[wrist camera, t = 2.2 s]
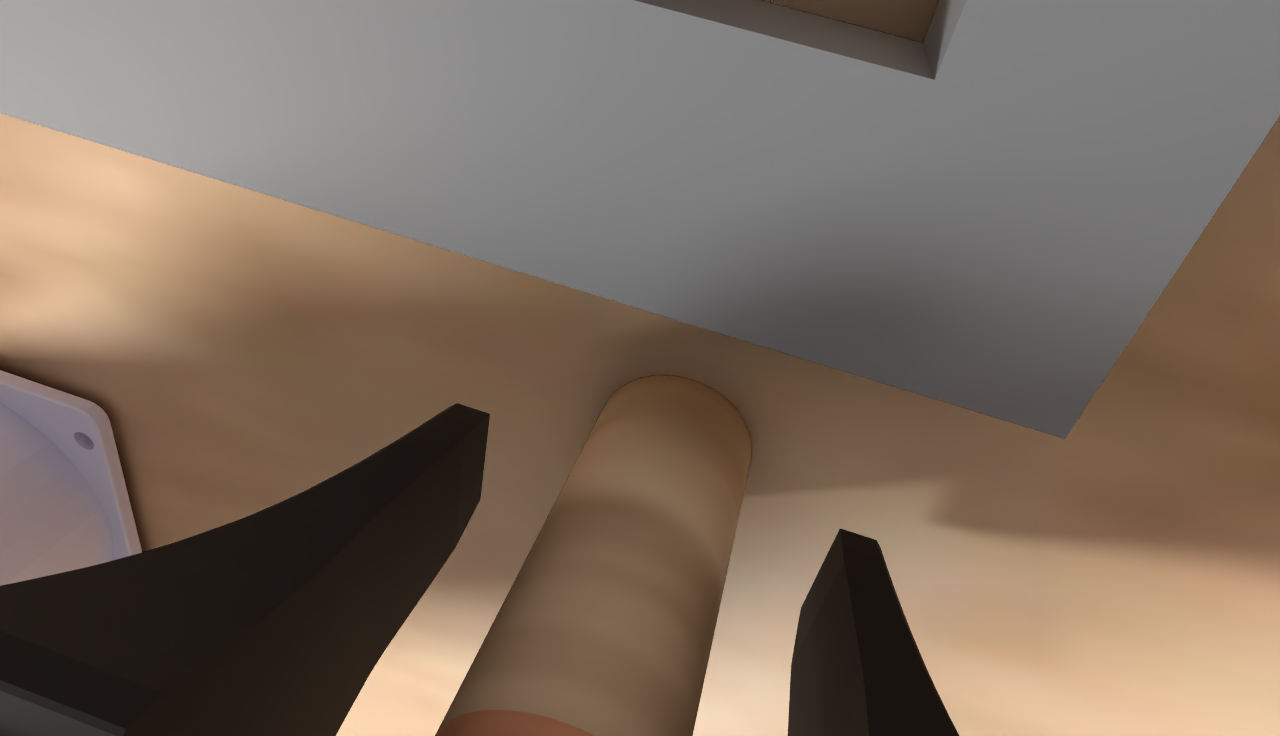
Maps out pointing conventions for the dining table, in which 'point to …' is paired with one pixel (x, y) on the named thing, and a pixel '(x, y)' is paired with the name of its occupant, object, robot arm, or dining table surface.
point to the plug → (619, 577)
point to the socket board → (722, 155)
